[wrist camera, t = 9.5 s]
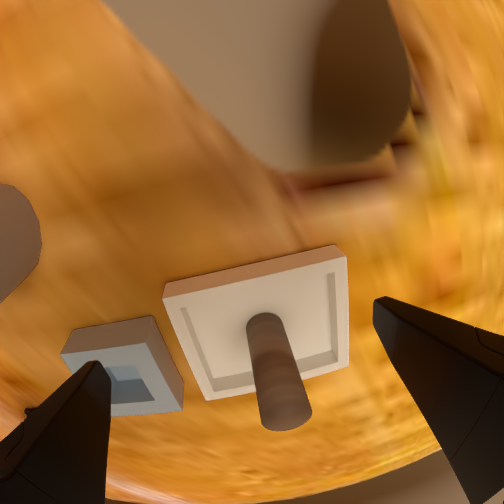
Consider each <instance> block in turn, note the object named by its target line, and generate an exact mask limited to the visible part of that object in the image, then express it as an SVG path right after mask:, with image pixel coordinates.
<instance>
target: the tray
mask: <svg viewBox="0 0 504 504" xmlns="http://www.w3.org/2000/svg"><path fill="white" fill-rule="evenodd" d="M162 301H163V303H164V306H165V308H166V311H167V313H168V316H169V318H170V321H171V323H172V326H173V328H174V331H175V333H176V336H177V338H178V340H179V343H180V345H181V347H182V350H183V352H184V354H185V356H186V359H187V361H188V363H189V365H190V368H191V370H192V372H193V374H194V376H195V379H196V381H197V383H198V385H199V387H200V389H201V391H202V393H203V395H204V397H205V399H206V401H208V400H214V399H220V398H226V397H231V396H236V395H241V394H246V393H251V392H256V388H255V382H254V377H253V371H252V365H251V359H250V353H249V346H248V340H247V334H246V325H247V323H248V321H249V320H250V319H251V318H252V317H253V316H255V315H257V314H260V313H273V314H275V315H277V316H279V317H280V319H281V320H282V322H283V325H284V328H285V331H286V334H287V337H288V340H289V343H290V346H291V349H292V352H293V355H294V358H295V361H296V364H297V367H298V370H299V373H300V376H301V379H302V380H304V379H308V378H311V377H315V376H318V375H322V374H325V373H328V372H332V371H335V370H338V369H341V368H344V367H347V366H349V301H348V274H347V256H346V255H345V254H344V253H343V252H342V251H341V250H340V249H339V248H338V247H337V246H336V245H335V244H334V245H330V246H326V247H321V248H317V249H313V250H309V251H304V252H300V253H296V254H292V255H287V256H283V257H279V258H275V259H270V260H266V261H262V262H257V263H253V264H249V265H244V266H240V267H236V268H231V269H227V270H223V271H218V272H214V273H209V274H205V275H200V276H196V277H192V278H187V279H183V280H178V281H174V282H169V283H166V285H165V289H164V293H163V296H162Z"/></svg>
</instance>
